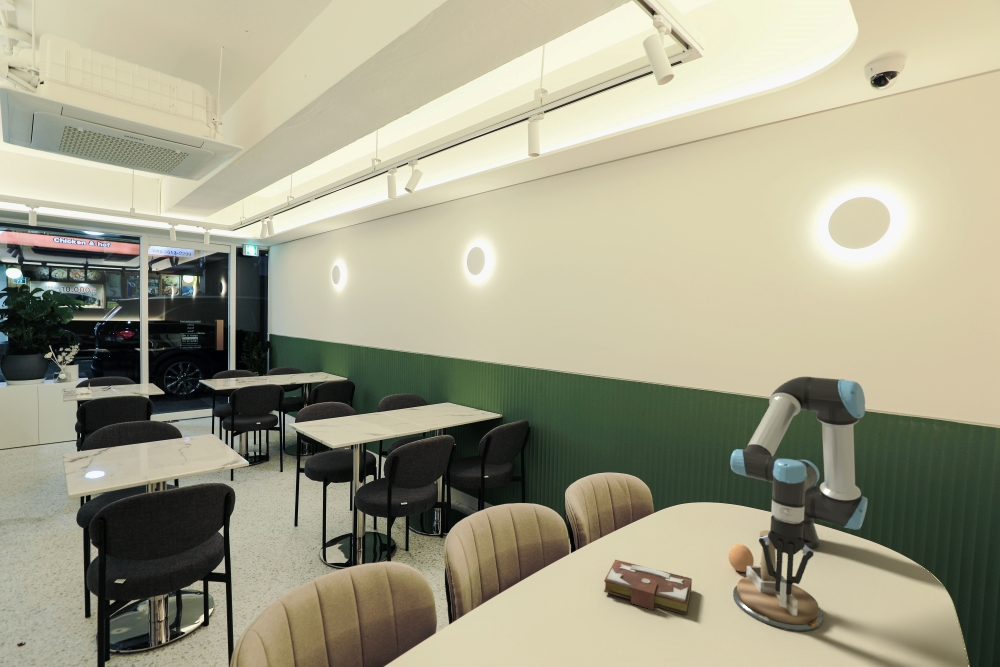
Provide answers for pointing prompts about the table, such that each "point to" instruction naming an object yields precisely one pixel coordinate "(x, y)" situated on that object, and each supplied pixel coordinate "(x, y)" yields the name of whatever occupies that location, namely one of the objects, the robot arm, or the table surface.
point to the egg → (740, 557)
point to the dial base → (777, 624)
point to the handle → (764, 570)
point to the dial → (776, 599)
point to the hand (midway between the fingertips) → (782, 604)
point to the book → (649, 587)
